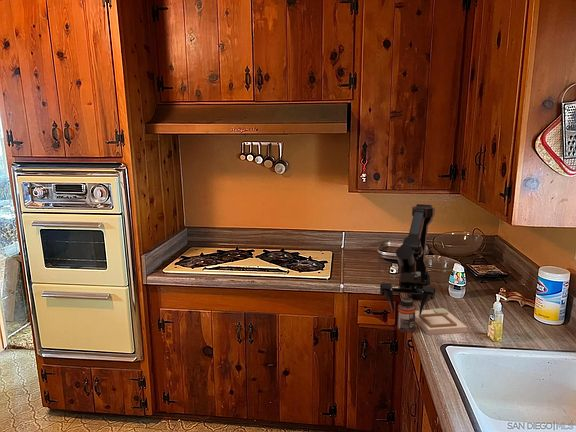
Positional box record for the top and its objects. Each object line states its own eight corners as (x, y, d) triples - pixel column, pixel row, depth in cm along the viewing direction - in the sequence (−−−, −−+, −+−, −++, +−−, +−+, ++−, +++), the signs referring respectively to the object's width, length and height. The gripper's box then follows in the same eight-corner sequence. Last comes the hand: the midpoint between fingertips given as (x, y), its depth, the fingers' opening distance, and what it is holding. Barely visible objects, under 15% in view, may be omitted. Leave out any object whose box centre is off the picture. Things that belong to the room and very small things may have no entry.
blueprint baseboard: (409, 315, 163) (409, 308, 162) (444, 313, 164) (445, 306, 164) (428, 335, 147) (428, 326, 146) (466, 332, 149) (467, 324, 148)
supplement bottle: (401, 324, 155) (402, 294, 153) (417, 329, 151) (418, 298, 149) (394, 330, 151) (395, 299, 149) (410, 335, 147) (411, 304, 145)
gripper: (381, 260, 153) (378, 301, 144) (436, 264, 148) (437, 306, 140) (381, 275, 162) (379, 314, 153) (433, 278, 157) (434, 319, 149)
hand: (406, 313), depth 149 cm, fingers open, 9 cm apart
